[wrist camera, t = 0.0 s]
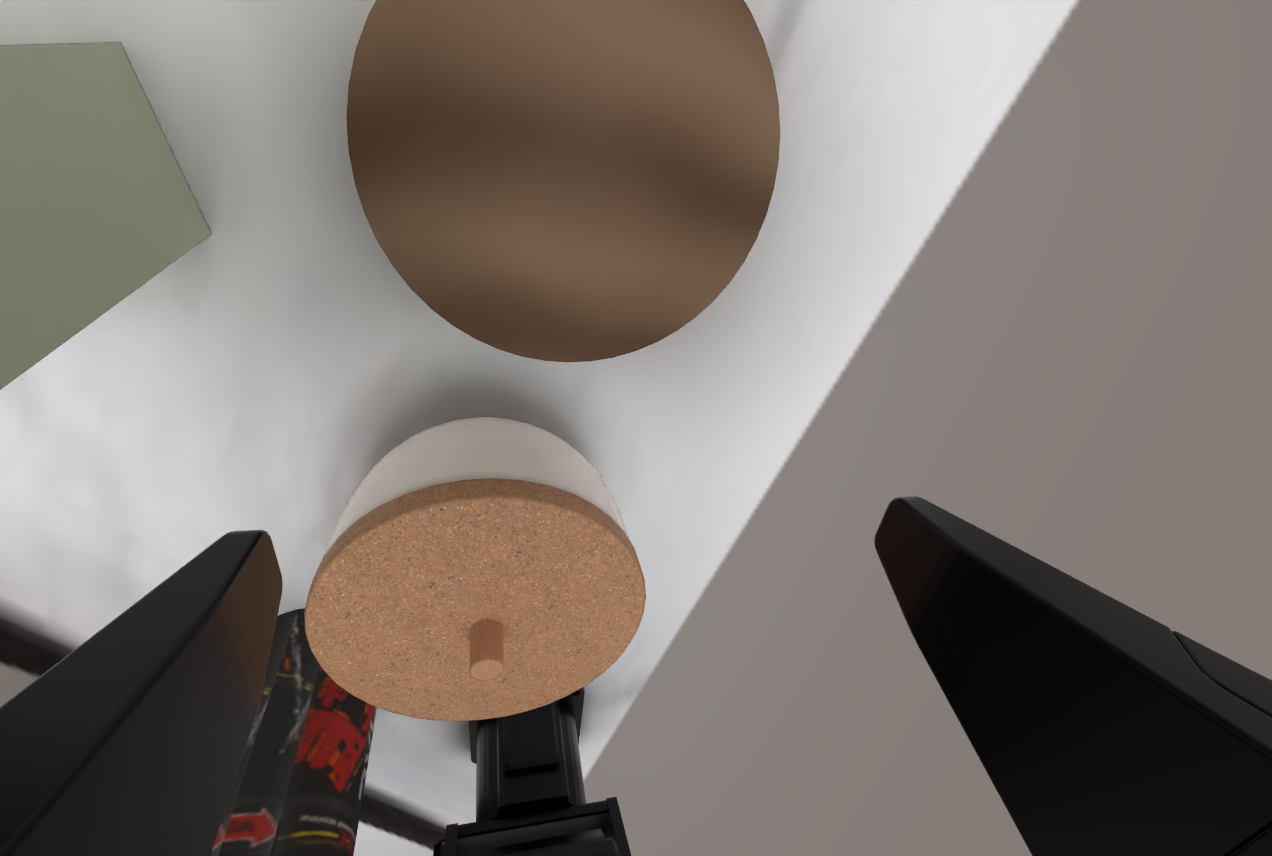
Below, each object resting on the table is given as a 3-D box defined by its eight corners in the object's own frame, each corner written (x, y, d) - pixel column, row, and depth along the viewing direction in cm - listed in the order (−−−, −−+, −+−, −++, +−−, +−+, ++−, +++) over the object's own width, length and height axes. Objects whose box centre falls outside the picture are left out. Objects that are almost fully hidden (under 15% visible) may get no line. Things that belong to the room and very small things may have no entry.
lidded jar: (556, 329, 22) (593, 482, 15) (638, 519, 29) (693, 695, 21) (292, 430, 22) (193, 635, 15) (431, 598, 29) (411, 802, 21)
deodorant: (228, 623, 27) (16, 1113, 15) (364, 596, 28) (270, 1039, 16) (281, 697, 30) (144, 1146, 18) (401, 671, 31) (347, 1084, 19)
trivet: (721, 347, 24) (734, 363, 23) (382, 341, 21) (376, 360, 20) (806, -56, 17) (830, -62, 16) (322, -150, 14) (307, -167, 13)
